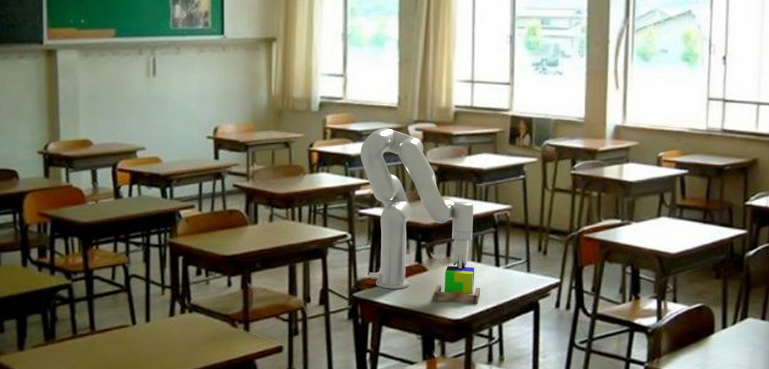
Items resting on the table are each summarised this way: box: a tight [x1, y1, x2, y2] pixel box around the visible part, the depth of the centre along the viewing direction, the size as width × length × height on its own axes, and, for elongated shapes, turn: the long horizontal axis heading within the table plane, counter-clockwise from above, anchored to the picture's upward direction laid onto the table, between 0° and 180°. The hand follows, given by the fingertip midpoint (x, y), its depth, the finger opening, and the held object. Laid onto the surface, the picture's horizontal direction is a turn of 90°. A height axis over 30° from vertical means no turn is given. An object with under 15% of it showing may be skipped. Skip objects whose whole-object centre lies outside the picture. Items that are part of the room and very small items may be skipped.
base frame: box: [433, 284, 481, 304], centre depth 393 cm, size 16×11×3 cm
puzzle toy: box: [444, 265, 475, 294], centre depth 396 cm, size 10×10×10 cm
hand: (460, 282), depth 404 cm, fingers closed
